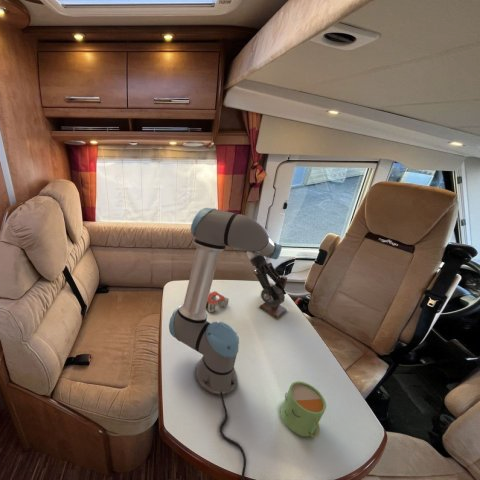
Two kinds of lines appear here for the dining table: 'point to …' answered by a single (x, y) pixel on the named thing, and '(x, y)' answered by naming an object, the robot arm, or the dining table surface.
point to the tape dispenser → (211, 304)
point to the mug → (303, 409)
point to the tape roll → (271, 301)
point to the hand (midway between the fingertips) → (280, 296)
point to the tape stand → (274, 310)
